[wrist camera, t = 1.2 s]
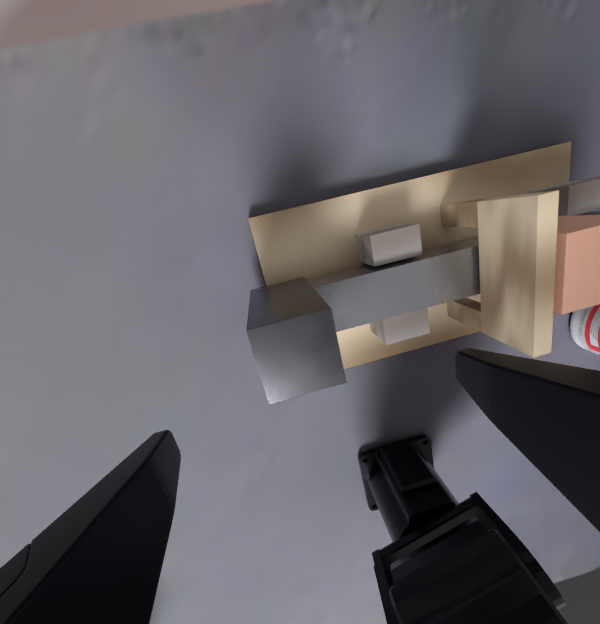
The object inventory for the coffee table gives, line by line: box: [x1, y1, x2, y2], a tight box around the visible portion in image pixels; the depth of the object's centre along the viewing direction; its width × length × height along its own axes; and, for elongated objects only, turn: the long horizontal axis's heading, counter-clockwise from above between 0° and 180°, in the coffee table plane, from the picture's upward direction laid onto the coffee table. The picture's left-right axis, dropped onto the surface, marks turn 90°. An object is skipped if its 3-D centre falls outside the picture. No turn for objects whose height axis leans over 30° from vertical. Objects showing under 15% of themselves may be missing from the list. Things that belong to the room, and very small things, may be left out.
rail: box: [248, 141, 600, 369], centre depth 18 cm, size 12×22×8 cm, turn 103°
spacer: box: [553, 215, 600, 315], centre depth 16 cm, size 4×4×4 cm
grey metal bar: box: [247, 211, 600, 404], centre depth 16 cm, size 4×22×8 cm, turn 103°
